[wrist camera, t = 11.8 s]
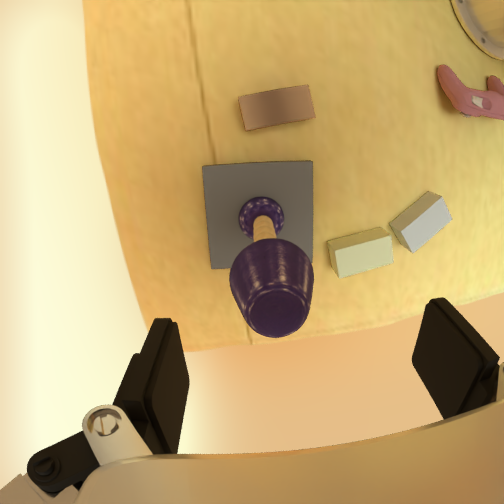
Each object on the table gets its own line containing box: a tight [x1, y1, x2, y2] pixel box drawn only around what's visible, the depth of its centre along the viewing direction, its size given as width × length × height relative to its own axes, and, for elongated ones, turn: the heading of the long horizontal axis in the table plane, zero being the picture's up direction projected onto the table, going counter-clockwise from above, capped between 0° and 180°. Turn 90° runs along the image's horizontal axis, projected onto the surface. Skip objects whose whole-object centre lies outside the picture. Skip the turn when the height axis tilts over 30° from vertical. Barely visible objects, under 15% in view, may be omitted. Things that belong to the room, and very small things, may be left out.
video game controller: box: [437, 65, 504, 120], centre depth 24 cm, size 10×5×7 cm, turn 97°
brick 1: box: [238, 85, 316, 131], centre depth 26 cm, size 6×3×3 cm, turn 103°
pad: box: [202, 161, 313, 269], centre depth 30 cm, size 10×10×1 cm
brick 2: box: [327, 227, 394, 279], centre depth 31 cm, size 6×3×3 cm, turn 105°
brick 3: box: [389, 191, 452, 253], centre depth 30 cm, size 6×3×3 cm, turn 129°
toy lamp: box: [229, 196, 314, 338], centre depth 22 cm, size 5×5×17 cm
